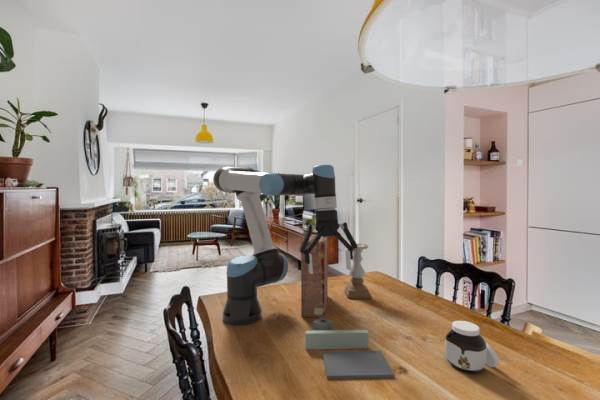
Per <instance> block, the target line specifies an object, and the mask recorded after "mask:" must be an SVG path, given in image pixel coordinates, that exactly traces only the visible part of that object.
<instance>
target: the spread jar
mask: <svg viewBox="0 0 600 400" xmlns="http://www.w3.org/2000/svg"><path fill="white" fill-rule="evenodd" d="M444 354H445V358H446V360H447V361H448V362H449V364H450V365H451V366H452V367H453V368H455V369H456V370H458V371H460V372H463V373H466V374H477V373H479V372H481V371H483V369H484V368H485V366H486V365H487V366H489V367H491V368H495V367H496V366H499V364H500V359H499V356H498V355H497V353H496V351H495V350H494V349H493V347H492V345H490V344H489V343H488V342H486V341H485V338H483V336H482V335H481V334H480V327H479V326H478V325H477V324H475V323H473V322H470V321H468V320H454V321H453V322H451V329H450V330H449V331H448V332H447V333H446V335H445V339H444Z"/></svg>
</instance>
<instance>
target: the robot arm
mask: <svg viewBox="0 0 600 400" xmlns="http://www.w3.org/2000/svg"><path fill="white" fill-rule="evenodd" d="M212 180H213V184H214V187H215V188H216V189H217V190H219V191H220V192H223V193H229V194H230V193H233V194H235V195H236V199H237V200H238V201H240V202H241V206H242V210H243V213H244V218H245V220H246V225H247V228H248V231H249V232H248V233H249V237H250V240H251V244H252V248H253V253H252V255H251V254H249V255H247V254H246V255H241V256H237V257H234V258H232V259H230V260H228V262H227V267H226V289H227V291H226V297H227V298H226V302H225V305H224V307H223V312H222V321H224V322H225V323H226V324H230V325H234V326H242V325H243V326H244V325H249V324H253V323H255V322H257V321H259V320H260V319H261V318H262V313H263V312H262V307H261V304H260V300H259V298H258V288H260V287H265V286H268V285H271V284H276V283H278V282H281V281H282V280H284V279H285V278H286V277H287V273H288V270H289V263H288V259H287V257H286V255H284V254H283V253H281V252H279V248H278V247H276V246H274V243H273V240H272V236H271V233H270V229H269V226H268V225H269V224H268V222H267V218H266V215H265V211H264V207H263V204H262V201H261V197H260V196H261V194H263V195H265V196H269V197H270V196H271V197H272V196H273V197H276V196H296V197H299V196H300V197H302V196H307V195H314V209H315V210H316V211H315V224H314V225H313V224H307V225H306V226H307V227H306V233H305V235H304V237H303V239H304V240H303V239H302V240H303V242H302V245H301V244H300V247H299V249H298V250H299V253H304V254H305V262H306V264H309V273H310V274H313V267H312V254H310V252H311V250H312V249H313V248H314V246H315V245H316V243H317V242H318V240H319V239H320V238H321V237H322V236H323V237H334V236H335V237H336V238H337V240H338V241H340V243H342V245H343V246H344V247H345V248H346V249H345V250H344V252H345V264H346V269H347V271H348V270H349V271H350V270H351V268H352V262H351V260H352V259H353V255H354V253H353V250H354V249H355V248H357V247H358V246H357V244H358V243H356V241H355V239H354V237H353V235H352V233H351V232H350V230H349V228H348V223H347V222H345V221H344V222H340V223H339V220H338V210H337V209H336V208H338V205H337V204H338V203H337V194H336V176H335V168H334V165H331V164H318V165H314V166H313V167H312V173H307V174H305V173H304V174H297V173H296V174H295V173H294V174H293V173H292V174H290V173H276V172H261V171H260V170H259V169H257V168H253V167H239V166H238V167H237V166H224V167H221V168H219V169H217V170H216V171H215V173H214V174H213V178H212ZM339 228H340V229H341V230H342V231H343V233H344V235H345V237H346V238H347V240H348V241H347V240H346V239H345V238H344V237H343V236H342V234H341V233H340V232H339V231H338V230H339ZM315 230H316V231H317V233H315V234H316V235H315V237H314V239H313V240H312V241H311V243H310V244H309V246H308V247H307V249H306V250H305V248H306V246H307V243H308V241H309V238H310V236H311V234H312V232H314V231H315ZM350 244H351V245H350ZM352 261H353V260H352Z"/></svg>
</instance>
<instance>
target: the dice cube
mask: <svg viewBox="0 0 600 400" xmlns="http://www.w3.org/2000/svg"><path fill="white" fill-rule="evenodd" d="M333 328H334V320H331V319H328V318H325V317H324V318H322V317H321V318H319V317H318V318H317V319H315V320H313V321H312V331H314V330H334V329H333Z"/></svg>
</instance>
